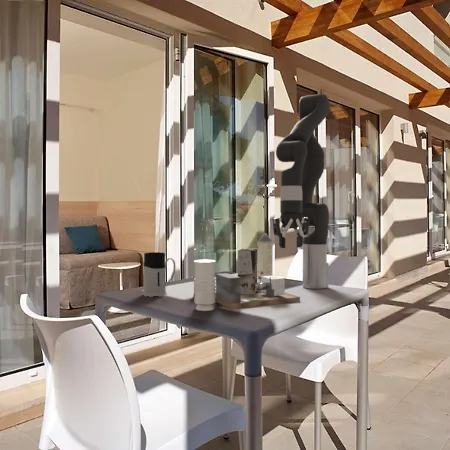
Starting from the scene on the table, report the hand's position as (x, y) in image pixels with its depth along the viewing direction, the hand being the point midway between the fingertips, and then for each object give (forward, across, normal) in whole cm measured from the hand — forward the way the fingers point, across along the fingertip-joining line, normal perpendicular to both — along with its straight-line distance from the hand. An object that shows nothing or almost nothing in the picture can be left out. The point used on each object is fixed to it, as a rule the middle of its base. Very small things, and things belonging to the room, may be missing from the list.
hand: (291, 247), depth 157 cm
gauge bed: (+18, +13, 0) cm, 22 cm away
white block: (+16, +9, 0) cm, 18 cm away
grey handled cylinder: (+18, +39, -25) cm, 50 cm away
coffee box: (+18, +8, -16) cm, 25 cm away
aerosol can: (+18, -16, -44) cm, 50 cm away
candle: (+18, +33, +2) cm, 38 cm away
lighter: (+18, +26, -15) cm, 35 cm away
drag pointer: (+15, +11, +4) cm, 19 cm away
